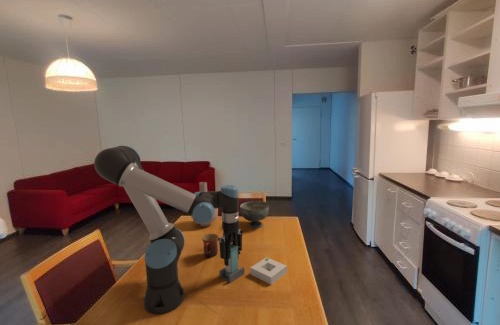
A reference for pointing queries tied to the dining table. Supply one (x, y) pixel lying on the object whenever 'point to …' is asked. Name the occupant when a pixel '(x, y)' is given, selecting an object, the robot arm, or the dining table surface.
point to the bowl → (254, 212)
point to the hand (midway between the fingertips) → (231, 268)
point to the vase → (204, 188)
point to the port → (265, 275)
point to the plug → (233, 259)
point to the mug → (210, 245)
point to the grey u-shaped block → (232, 276)
